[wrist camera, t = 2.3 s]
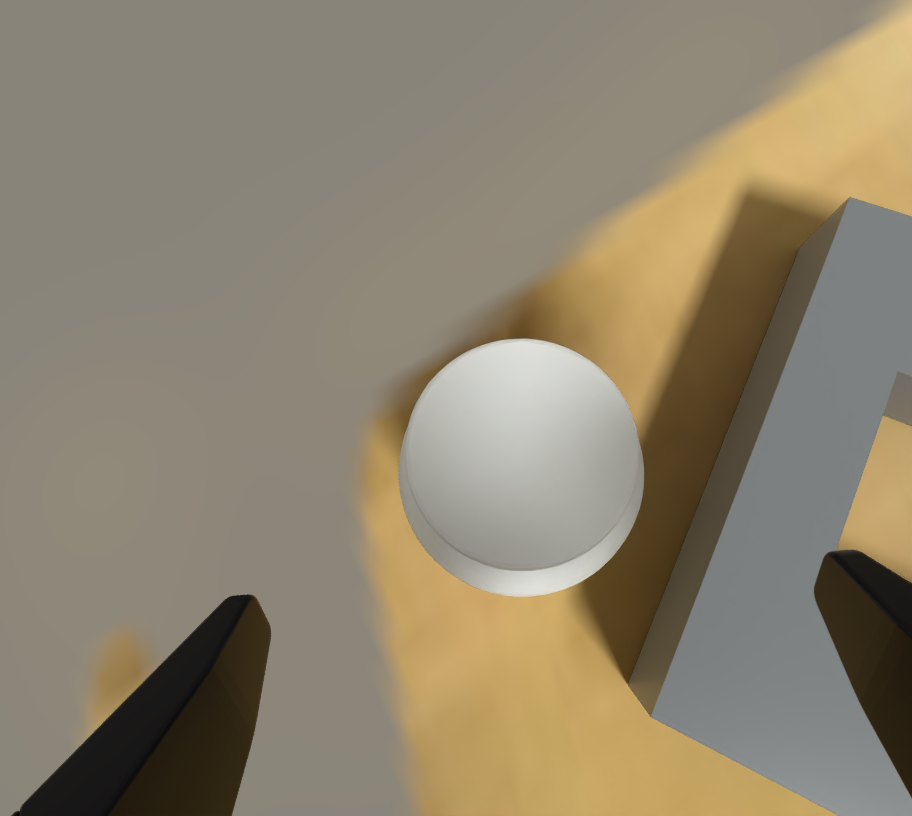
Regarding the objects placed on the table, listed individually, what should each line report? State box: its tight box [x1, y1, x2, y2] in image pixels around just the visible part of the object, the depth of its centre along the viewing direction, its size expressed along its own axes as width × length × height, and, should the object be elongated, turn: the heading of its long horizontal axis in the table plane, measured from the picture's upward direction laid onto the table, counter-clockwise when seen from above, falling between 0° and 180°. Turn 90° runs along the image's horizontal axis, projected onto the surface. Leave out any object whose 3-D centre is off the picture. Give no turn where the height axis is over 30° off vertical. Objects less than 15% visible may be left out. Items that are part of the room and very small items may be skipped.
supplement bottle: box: [399, 339, 644, 597], centre depth 14 cm, size 5×5×10 cm
